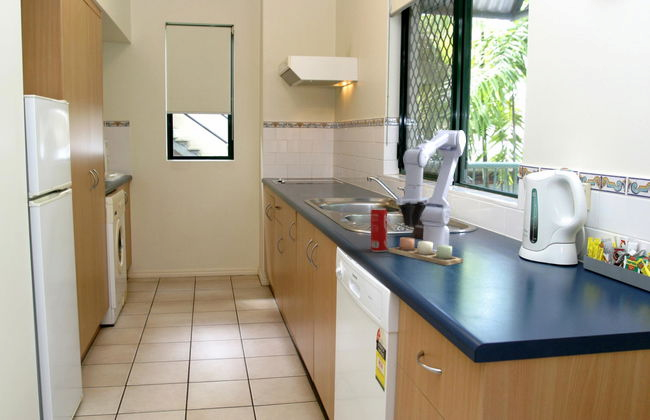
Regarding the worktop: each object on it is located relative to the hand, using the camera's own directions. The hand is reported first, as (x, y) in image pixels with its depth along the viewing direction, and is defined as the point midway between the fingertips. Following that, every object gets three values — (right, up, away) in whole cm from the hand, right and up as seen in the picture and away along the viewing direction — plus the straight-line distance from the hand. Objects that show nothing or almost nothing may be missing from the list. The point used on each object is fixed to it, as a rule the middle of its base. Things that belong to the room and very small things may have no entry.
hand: (411, 225), depth 208 cm
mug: (+10, -6, +39) cm, 41 cm away
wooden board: (+4, -11, 0) cm, 12 cm away
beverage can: (-11, -9, +7) cm, 16 cm away
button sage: (+10, -10, -6) cm, 16 cm away
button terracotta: (-1, -8, +5) cm, 10 cm away
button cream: (+4, -9, -1) cm, 10 cm away
